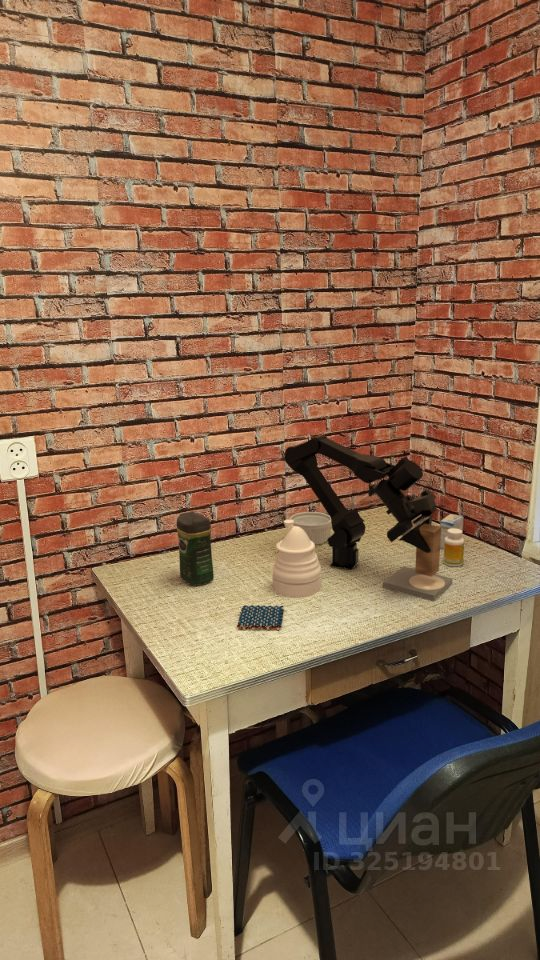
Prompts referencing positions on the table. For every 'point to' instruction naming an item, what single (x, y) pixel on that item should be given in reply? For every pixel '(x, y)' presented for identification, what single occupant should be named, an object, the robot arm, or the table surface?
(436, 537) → the walnut block
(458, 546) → the supplement bottle
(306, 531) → the ramekin
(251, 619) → the woven mat
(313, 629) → the table surface
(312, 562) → the honey pot
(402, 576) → the slate board
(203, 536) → the coffee jar
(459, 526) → the medicine box
